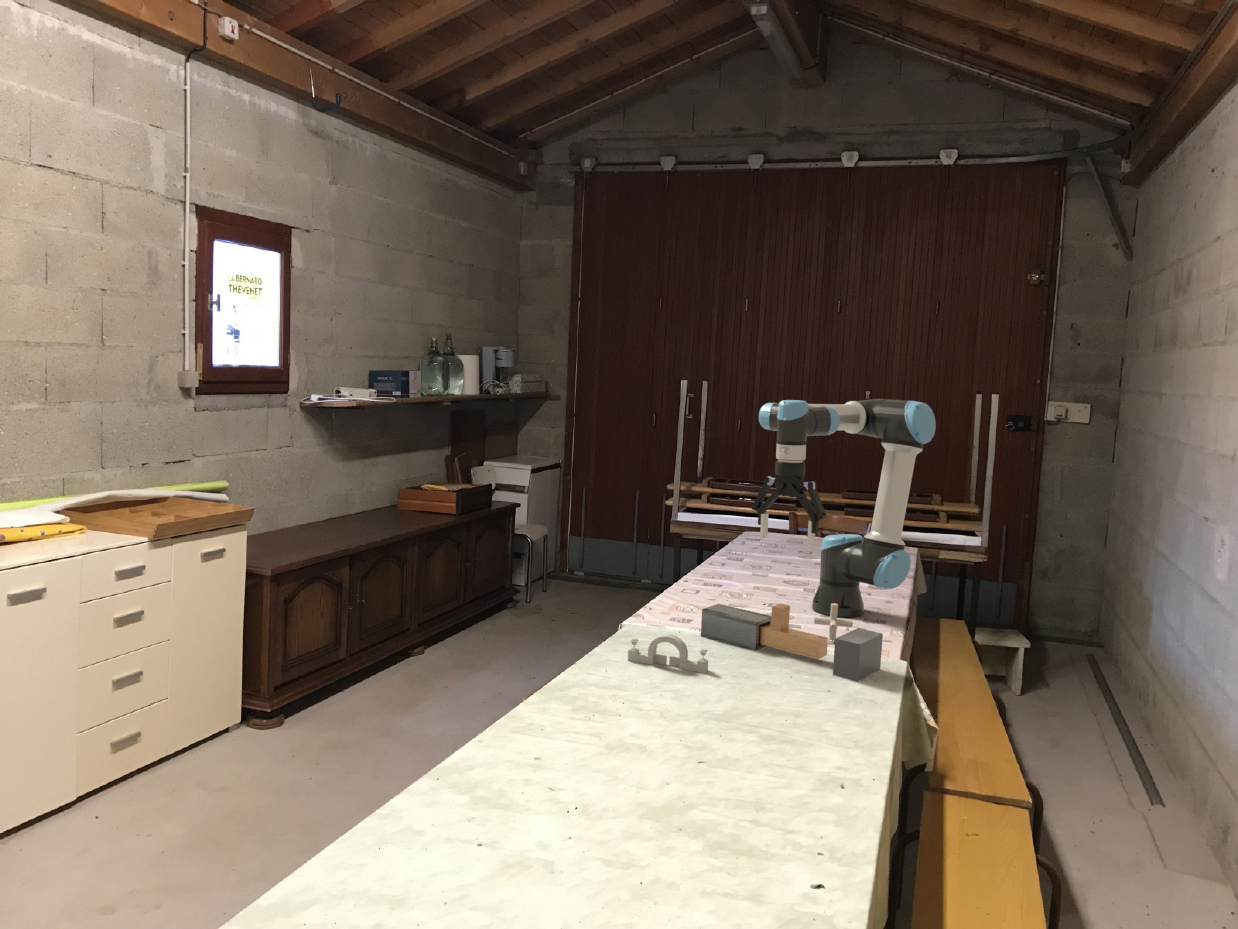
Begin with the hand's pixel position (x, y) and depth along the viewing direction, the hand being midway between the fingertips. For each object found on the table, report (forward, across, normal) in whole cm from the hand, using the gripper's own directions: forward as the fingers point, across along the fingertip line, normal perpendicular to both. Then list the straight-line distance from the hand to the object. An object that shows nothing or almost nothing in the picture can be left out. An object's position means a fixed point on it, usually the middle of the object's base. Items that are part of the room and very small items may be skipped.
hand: (786, 541), depth 248 cm
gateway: (+28, -13, -34) cm, 46 cm away
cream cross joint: (+28, +8, +12) cm, 32 cm away
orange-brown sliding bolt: (+26, 0, -6) cm, 27 cm away
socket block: (+28, +24, -7) cm, 37 cm away
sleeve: (+28, -11, -6) cm, 30 cm away
